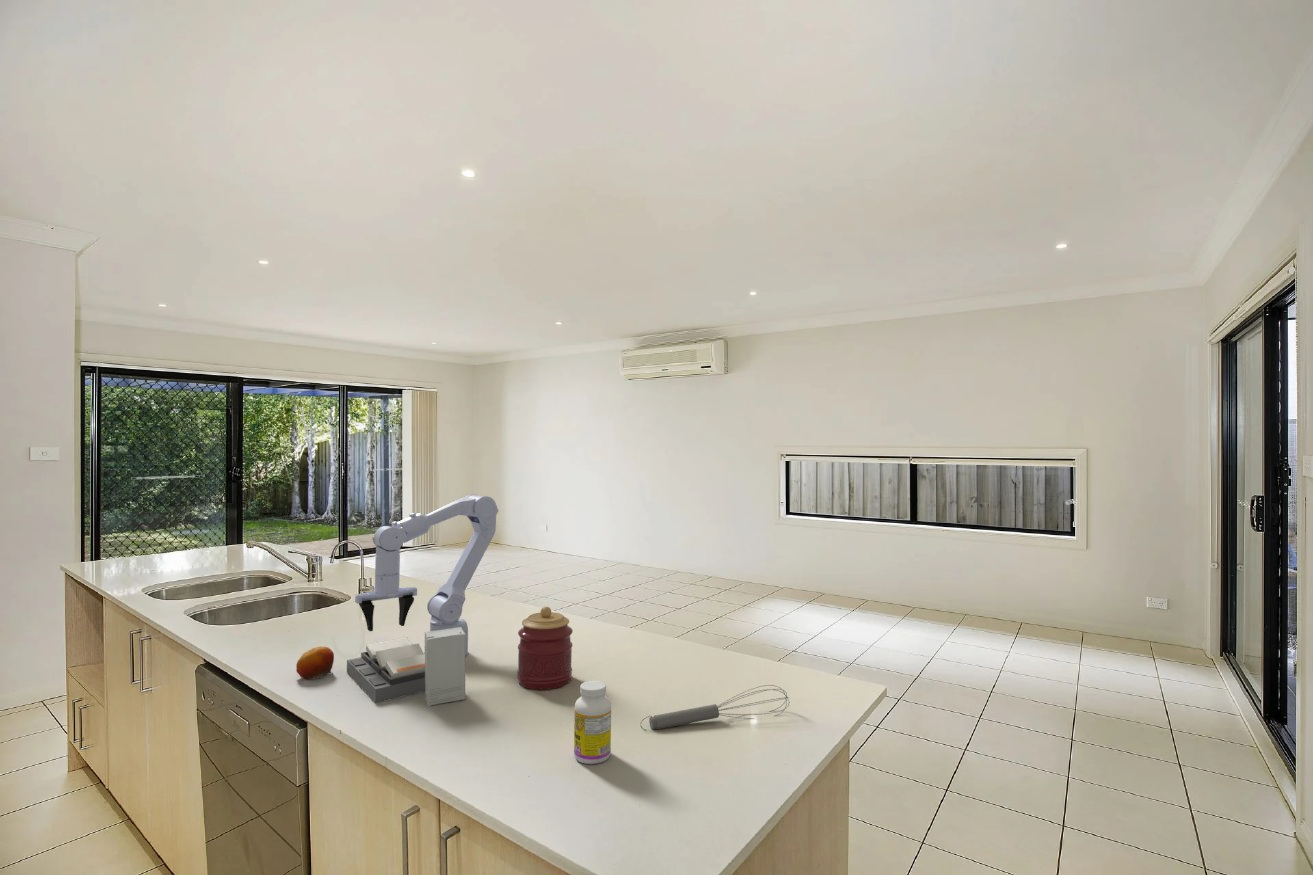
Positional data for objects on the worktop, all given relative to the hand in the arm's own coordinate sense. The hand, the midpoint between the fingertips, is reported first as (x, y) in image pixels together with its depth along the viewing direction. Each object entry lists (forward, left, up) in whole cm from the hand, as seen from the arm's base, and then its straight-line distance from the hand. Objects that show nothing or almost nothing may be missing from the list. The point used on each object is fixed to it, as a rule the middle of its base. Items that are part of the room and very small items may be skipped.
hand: (386, 627), depth 156 cm
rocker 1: (0, +2, -5) cm, 6 cm away
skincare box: (-4, +29, -10) cm, 31 cm away
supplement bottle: (-15, +71, -10) cm, 73 cm away
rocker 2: (0, +18, -5) cm, 19 cm away
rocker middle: (0, +10, -5) cm, 11 cm away
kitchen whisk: (-44, +75, -10) cm, 88 cm away
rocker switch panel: (+1, +8, -10) cm, 13 cm away
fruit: (+15, -4, -10) cm, 19 cm away
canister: (-27, +33, -10) cm, 44 cm away
